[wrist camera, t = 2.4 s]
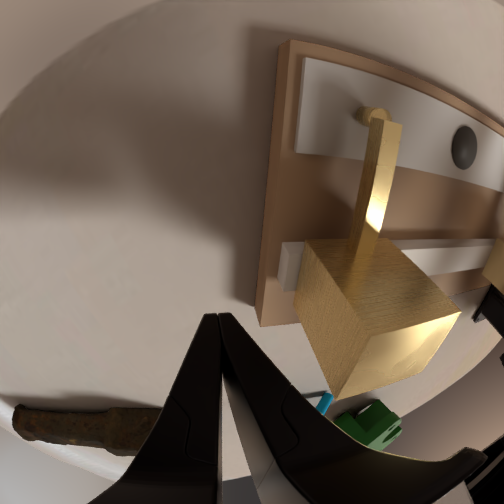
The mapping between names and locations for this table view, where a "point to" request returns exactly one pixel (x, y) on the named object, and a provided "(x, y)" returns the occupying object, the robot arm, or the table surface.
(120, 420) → the hand tool
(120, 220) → the table surface
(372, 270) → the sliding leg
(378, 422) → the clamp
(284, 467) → the robot arm
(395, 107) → the wooden base with blocks
